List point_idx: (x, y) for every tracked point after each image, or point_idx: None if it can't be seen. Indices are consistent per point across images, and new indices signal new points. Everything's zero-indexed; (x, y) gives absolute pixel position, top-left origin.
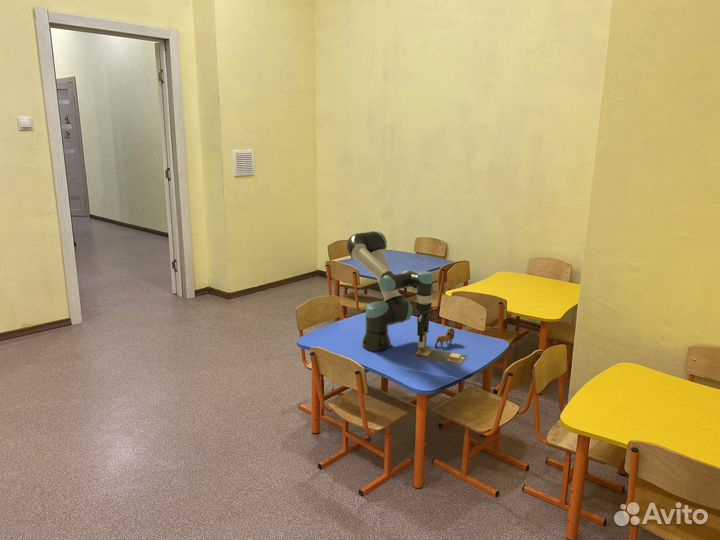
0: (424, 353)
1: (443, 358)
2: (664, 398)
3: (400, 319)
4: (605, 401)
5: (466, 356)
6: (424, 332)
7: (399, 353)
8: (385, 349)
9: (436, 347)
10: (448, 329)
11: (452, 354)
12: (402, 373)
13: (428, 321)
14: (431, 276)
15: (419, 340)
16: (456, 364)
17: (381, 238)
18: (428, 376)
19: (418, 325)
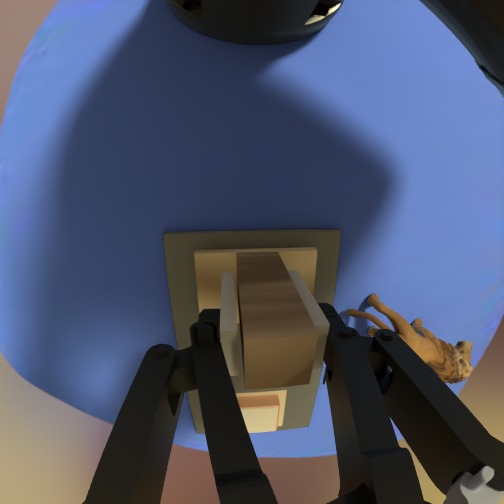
0: (214, 302)
1: (232, 379)
2: None
3: (467, 24)
4: None
5: (295, 427)
6: (275, 379)
7: (198, 128)
8: (206, 33)
9: (353, 316)
10: (461, 364)
11: (260, 413)
12: (8, 257)
13: (411, 432)
14: None
15: (198, 318)
16: (199, 423)
17: None
18: (51, 354)
19: (108, 462)
